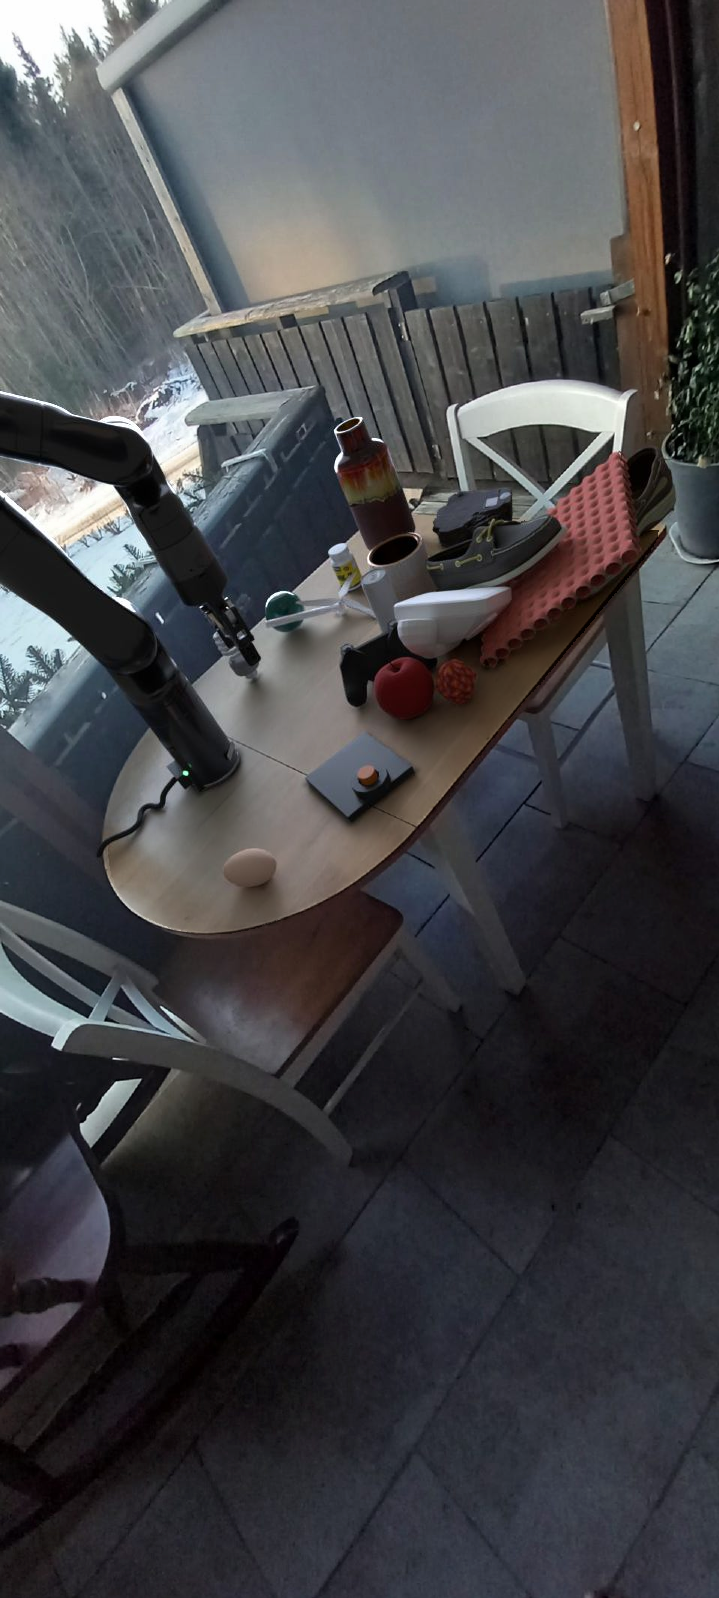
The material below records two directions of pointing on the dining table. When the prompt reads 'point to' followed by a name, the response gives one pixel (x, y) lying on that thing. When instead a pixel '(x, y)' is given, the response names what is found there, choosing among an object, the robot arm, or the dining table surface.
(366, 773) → the button
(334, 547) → the supplement bottle
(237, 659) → the light bulb
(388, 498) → the vase
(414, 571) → the planter
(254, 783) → the dining table surface
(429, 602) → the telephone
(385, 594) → the beverage can
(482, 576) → the boat shoe
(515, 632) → the egg carton
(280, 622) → the wind turbine
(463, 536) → the rock sample
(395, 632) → the game controller
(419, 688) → the apple
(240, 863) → the egg
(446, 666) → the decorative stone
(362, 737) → the push button pad
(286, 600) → the sphere
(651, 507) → the boat shoe
